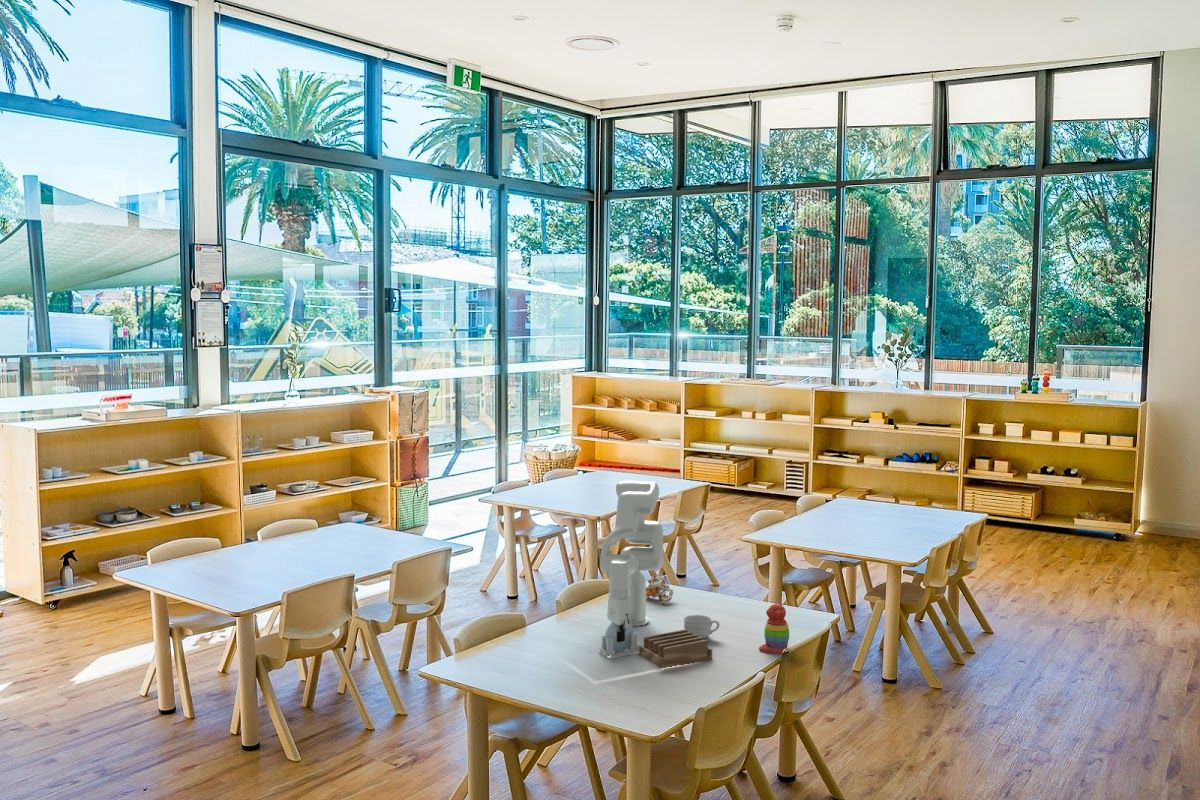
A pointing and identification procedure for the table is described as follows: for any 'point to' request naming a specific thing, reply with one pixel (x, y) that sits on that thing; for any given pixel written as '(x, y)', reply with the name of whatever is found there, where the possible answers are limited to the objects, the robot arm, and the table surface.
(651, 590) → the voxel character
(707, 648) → the rack
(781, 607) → the stacking bear
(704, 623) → the teacup
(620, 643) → the plate
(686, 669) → the table surface
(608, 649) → the holder
